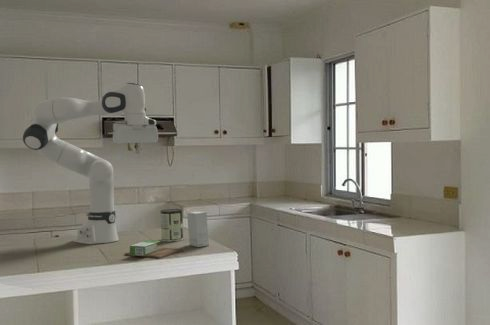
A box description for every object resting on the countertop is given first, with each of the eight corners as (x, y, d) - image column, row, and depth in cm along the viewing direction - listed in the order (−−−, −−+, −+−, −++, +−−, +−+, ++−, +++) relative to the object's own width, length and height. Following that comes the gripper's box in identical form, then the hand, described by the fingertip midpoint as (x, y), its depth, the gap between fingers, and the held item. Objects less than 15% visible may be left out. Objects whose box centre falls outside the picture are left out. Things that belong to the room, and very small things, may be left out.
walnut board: (124, 255, 216) (124, 253, 216) (149, 248, 230) (149, 246, 230) (159, 258, 208) (159, 256, 208) (183, 251, 222) (183, 249, 221)
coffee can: (171, 237, 257) (170, 208, 257) (187, 238, 252) (186, 209, 251) (156, 240, 248) (155, 210, 248) (173, 242, 243) (172, 211, 242)
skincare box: (209, 245, 232) (208, 212, 231) (196, 247, 228) (195, 213, 228) (199, 243, 239) (198, 210, 238) (187, 245, 235) (186, 211, 235)
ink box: (144, 256, 209) (161, 249, 221) (144, 246, 209) (161, 240, 221) (129, 255, 211) (147, 249, 224) (129, 245, 211) (146, 239, 224)
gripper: (116, 120, 215) (117, 154, 216) (159, 121, 229) (160, 153, 229) (109, 121, 220) (110, 154, 220) (151, 122, 234) (152, 153, 234)
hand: (136, 153), depth 225 cm, fingers closed
